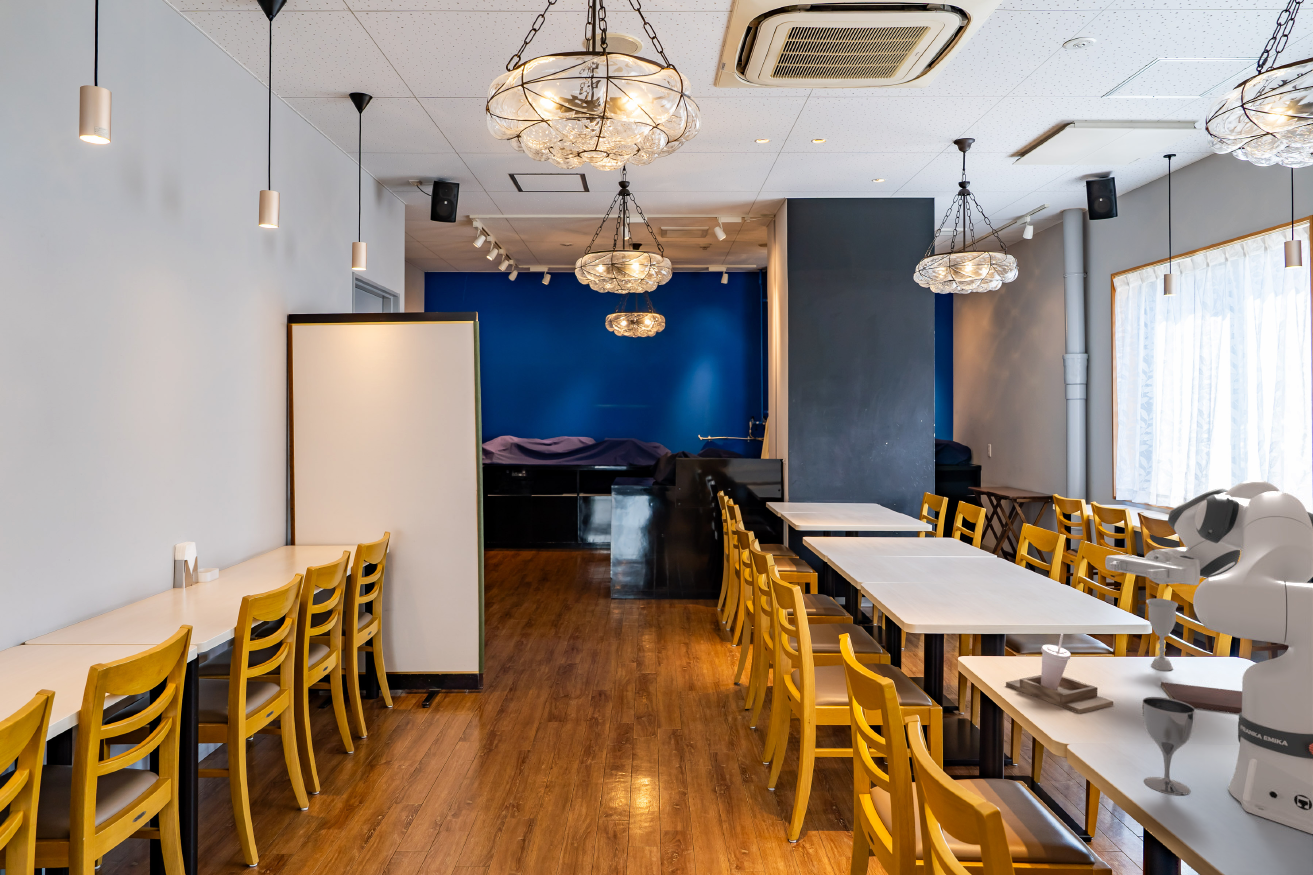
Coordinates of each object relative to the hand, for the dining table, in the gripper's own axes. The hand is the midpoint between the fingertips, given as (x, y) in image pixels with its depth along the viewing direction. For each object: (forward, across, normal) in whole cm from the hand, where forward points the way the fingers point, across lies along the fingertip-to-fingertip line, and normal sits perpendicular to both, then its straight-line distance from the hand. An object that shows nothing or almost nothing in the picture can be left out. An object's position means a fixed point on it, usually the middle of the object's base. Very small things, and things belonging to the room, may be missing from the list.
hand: (1130, 570), depth 191 cm
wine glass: (+45, +36, +30) cm, 65 cm away
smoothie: (+21, -6, +28) cm, 36 cm away
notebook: (-11, +15, +30) cm, 35 cm away
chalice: (-25, -6, +30) cm, 39 cm away
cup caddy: (+21, -4, +30) cm, 37 cm away
